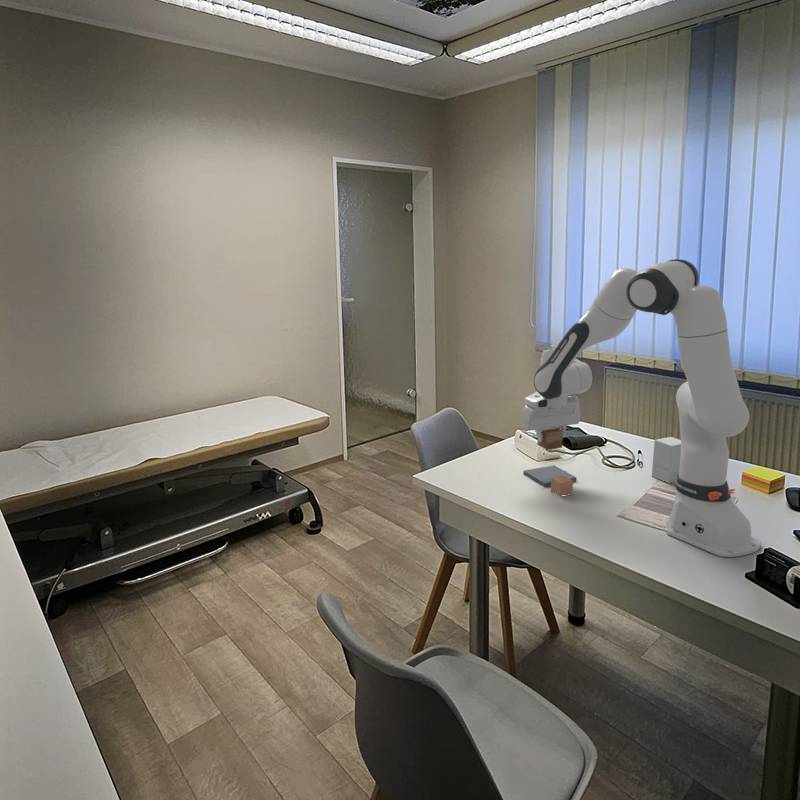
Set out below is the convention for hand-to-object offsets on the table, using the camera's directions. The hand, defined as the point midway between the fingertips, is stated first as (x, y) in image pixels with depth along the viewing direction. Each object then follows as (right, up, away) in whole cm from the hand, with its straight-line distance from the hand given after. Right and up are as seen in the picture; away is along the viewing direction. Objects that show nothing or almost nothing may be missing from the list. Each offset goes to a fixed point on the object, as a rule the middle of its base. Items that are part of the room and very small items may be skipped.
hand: (550, 439), depth 195 cm
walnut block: (0, -2, +1) cm, 2 cm away
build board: (+1, -12, +3) cm, 13 cm away
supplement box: (+38, -13, +1) cm, 40 cm away
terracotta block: (+1, -16, -9) cm, 18 cm away
